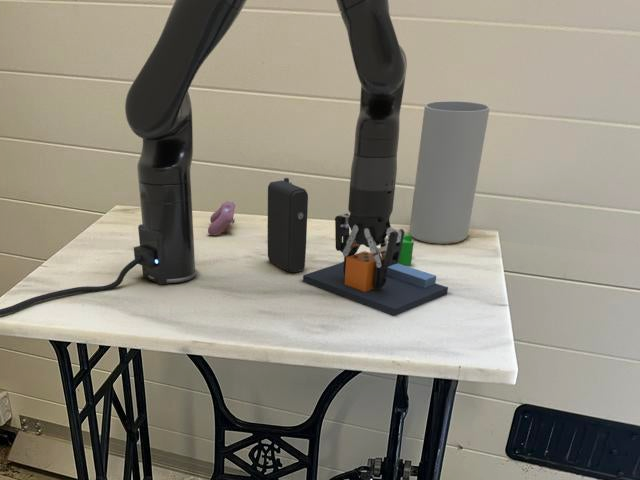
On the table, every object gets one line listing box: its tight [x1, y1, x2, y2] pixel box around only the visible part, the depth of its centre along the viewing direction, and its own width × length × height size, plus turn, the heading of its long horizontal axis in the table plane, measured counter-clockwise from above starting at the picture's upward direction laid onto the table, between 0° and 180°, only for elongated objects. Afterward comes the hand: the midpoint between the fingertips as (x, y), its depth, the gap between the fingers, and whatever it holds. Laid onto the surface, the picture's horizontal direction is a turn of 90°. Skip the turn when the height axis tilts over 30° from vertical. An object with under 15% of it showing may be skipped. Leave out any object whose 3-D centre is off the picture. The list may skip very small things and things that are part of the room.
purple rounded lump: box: [207, 200, 236, 236], centre depth 161 cm, size 10×5×7 cm, turn 179°
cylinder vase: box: [408, 100, 491, 245], centre depth 151 cm, size 12×12×25 cm
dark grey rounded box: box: [267, 180, 309, 273], centre depth 139 cm, size 9×4×15 cm, turn 31°
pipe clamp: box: [398, 234, 414, 267], centre depth 145 cm, size 11×4×5 cm, turn 173°
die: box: [344, 250, 382, 292], centre depth 130 cm, size 5×5×5 cm
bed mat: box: [302, 261, 449, 316], centre depth 133 cm, size 15×22×3 cm
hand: (363, 281), depth 132 cm, fingers open, 6 cm apart
